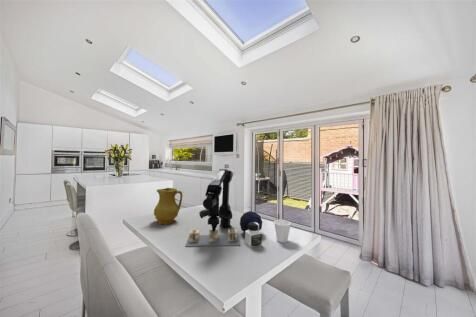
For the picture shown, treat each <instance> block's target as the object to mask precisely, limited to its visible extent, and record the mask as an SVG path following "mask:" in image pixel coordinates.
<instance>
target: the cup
mask: <svg viewBox="0 0 476 317" xmlns="http://www.w3.org/2000/svg"><path fill="white" fill-rule="evenodd" d="M273 224H274V228H275V229H274V230H275V235H276V236H275V237H276V241H277V242H279V243H281V244H284V243H287V242H288V239H289V234H290V229H291V225H292V223H291V222H290V221H289V220H285V219H276V220H274V221H273Z"/></svg>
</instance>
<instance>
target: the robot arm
mask: <svg viewBox="0 0 476 317" xmlns="http://www.w3.org/2000/svg"><path fill="white" fill-rule="evenodd" d="M233 176H234V173H233V172H232V170H228V169H227V168H220V169H219V170H218V173H217V175H216V177H215V179H214V180H211V181H210V182H209V183H208V185H207V187H206V191H205V197H206V198H205V199H203V201H202V206H203V208H204V209H203V210H200V211H199V212H198V214H199V217H200V219H203V218H206V217H208V219H207V225H210V226H211V230H213V232H214V231H215V230H217V226H218V225H219V227H221V228H222V229H227V228H228V229H229V228H231V227H233V226H232V225H231V219H233V212H232V210H231V208H232V207H231V205H230V203H229V201H230V183H231V181H232V180H233ZM221 193H222V194H221ZM221 195H222V198H221V205H220V196H221Z"/></svg>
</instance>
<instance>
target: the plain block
mask: <svg viewBox="0 0 476 317" xmlns="http://www.w3.org/2000/svg"><path fill="white" fill-rule="evenodd" d="M208 231H209V232H208V235H209V242H218V235H219V229H215V231H214V232H213V230H212V229H209V230H208Z"/></svg>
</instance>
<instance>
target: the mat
mask: <svg viewBox="0 0 476 317" xmlns="http://www.w3.org/2000/svg"><path fill="white" fill-rule="evenodd" d="M189 237H190V234H189V236H188V238H187V240H186V243H185V248H196V247H202V248H203V247H206V248H207V247H240V246H241V244H240V238H239V235H238V234H237V241H228V234H218V242H209V234H199V241H198V242H189Z"/></svg>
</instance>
